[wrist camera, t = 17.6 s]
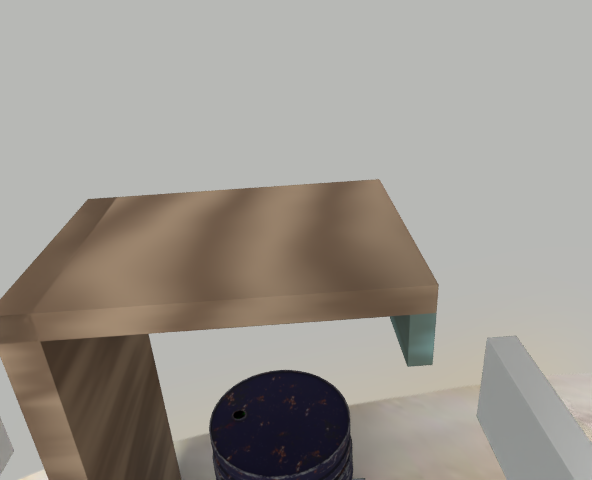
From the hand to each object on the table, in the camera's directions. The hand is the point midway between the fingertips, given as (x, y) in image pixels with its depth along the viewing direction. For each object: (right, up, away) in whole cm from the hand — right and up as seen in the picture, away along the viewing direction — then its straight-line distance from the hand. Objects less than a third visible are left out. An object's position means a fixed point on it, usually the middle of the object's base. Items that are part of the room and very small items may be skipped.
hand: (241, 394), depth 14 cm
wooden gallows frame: (-1, -22, +28) cm, 36 cm away
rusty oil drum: (+1, -22, +28) cm, 35 cm away
